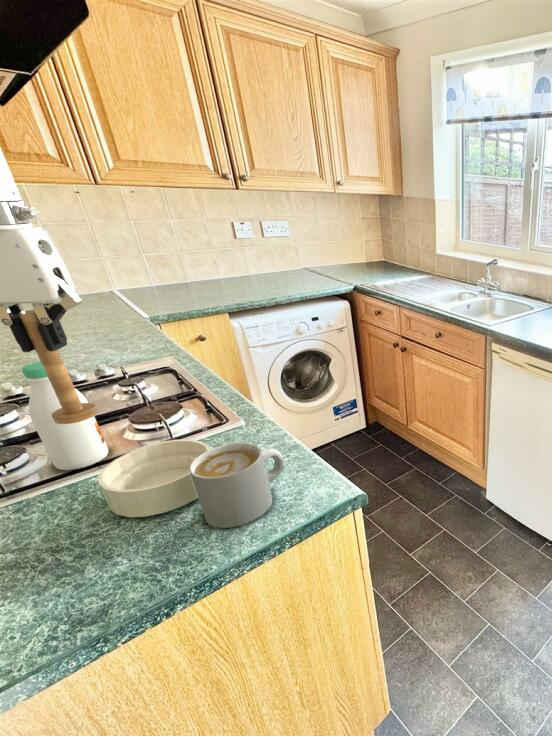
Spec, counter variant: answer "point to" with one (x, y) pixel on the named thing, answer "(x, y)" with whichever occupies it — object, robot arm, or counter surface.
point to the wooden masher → (57, 376)
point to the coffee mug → (234, 483)
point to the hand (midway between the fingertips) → (45, 347)
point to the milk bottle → (62, 426)
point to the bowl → (151, 478)
